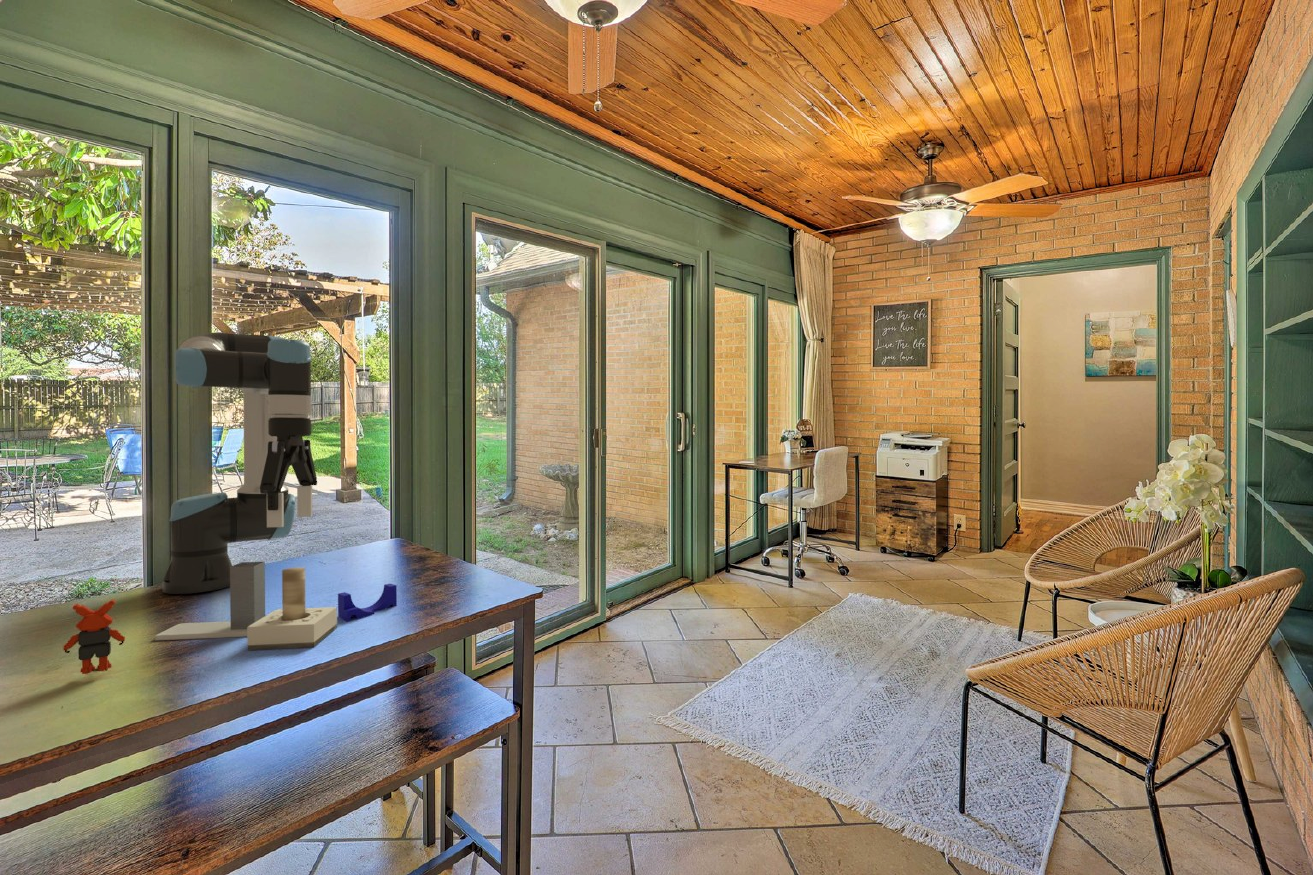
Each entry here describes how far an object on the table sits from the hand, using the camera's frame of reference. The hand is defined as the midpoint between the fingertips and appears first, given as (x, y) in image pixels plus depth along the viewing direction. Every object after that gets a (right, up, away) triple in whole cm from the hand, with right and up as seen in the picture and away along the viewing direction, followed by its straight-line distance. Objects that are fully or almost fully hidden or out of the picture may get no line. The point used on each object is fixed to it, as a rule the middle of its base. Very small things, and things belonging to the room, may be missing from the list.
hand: (290, 521), depth 127 cm
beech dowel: (+1, -23, 0) cm, 23 cm away
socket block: (+1, -24, 0) cm, 24 cm away
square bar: (-12, -23, +5) cm, 26 cm away
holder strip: (-17, -24, +4) cm, 30 cm away
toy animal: (-25, -24, -16) cm, 38 cm away
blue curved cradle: (+9, -24, +16) cm, 30 cm away
